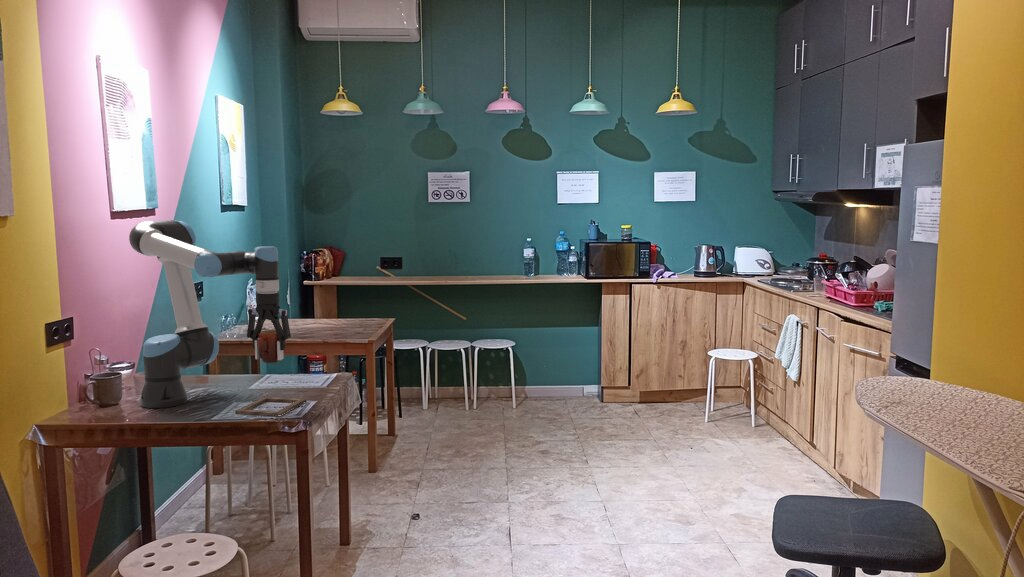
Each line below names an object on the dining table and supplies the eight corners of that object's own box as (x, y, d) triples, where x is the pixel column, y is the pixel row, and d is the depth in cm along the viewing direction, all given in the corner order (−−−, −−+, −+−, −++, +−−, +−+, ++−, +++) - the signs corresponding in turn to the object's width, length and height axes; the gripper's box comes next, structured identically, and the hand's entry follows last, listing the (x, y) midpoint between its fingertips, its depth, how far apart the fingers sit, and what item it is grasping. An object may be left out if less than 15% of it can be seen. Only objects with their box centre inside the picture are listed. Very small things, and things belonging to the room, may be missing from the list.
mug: (266, 358, 263) (265, 329, 262) (289, 359, 261) (289, 330, 260) (248, 365, 252) (247, 335, 250) (272, 366, 250) (271, 336, 249)
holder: (235, 413, 250) (235, 410, 250) (264, 399, 269) (264, 396, 269) (279, 416, 247) (279, 413, 247) (306, 401, 266) (306, 399, 266)
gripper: (233, 292, 252) (236, 359, 255) (290, 294, 248) (292, 362, 251) (245, 290, 259) (247, 355, 262) (300, 291, 256) (302, 358, 258)
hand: (269, 358), depth 256 cm, fingers closed on mug, 7 cm apart
